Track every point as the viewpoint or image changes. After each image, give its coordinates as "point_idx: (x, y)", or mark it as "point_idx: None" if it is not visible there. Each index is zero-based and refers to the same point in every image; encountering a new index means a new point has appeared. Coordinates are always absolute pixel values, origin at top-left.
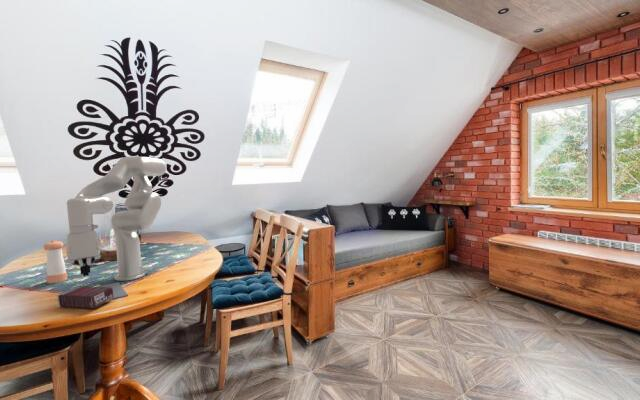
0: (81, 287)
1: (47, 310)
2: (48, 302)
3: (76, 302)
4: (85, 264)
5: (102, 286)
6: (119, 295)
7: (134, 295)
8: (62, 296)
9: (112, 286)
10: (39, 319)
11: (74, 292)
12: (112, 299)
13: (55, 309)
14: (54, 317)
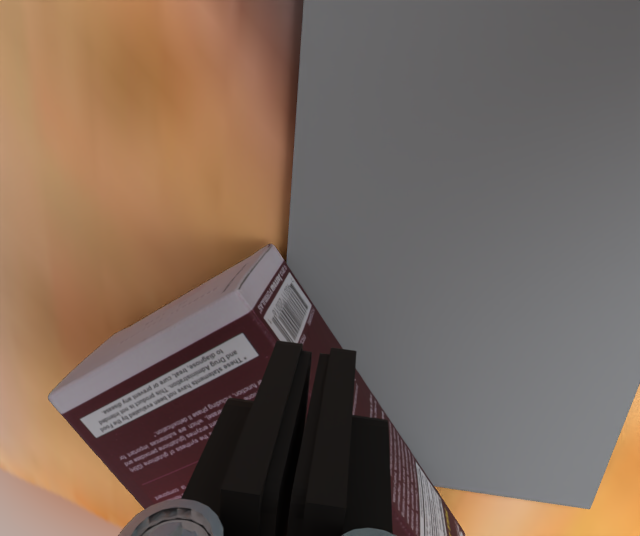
0: (261, 376)
1: (50, 318)
2: (34, 100)
3: None
4: (304, 517)
5: (561, 34)
6: (536, 475)
7: (622, 527)
8: (96, 445)
9: (636, 146)
10: (25, 444)
11: (185, 474)
12: (466, 482)
13: (100, 345)
14: (102, 482)
